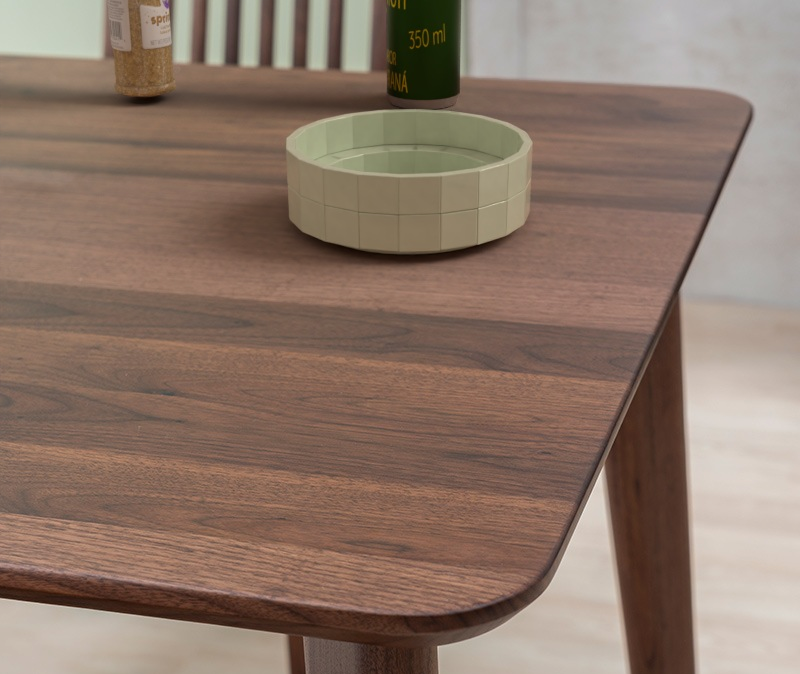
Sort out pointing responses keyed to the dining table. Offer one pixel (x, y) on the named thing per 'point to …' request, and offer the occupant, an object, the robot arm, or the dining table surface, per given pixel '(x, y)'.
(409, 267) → the dining table surface
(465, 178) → the dish
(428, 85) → the green drink can
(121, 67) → the sprinkles bottle
